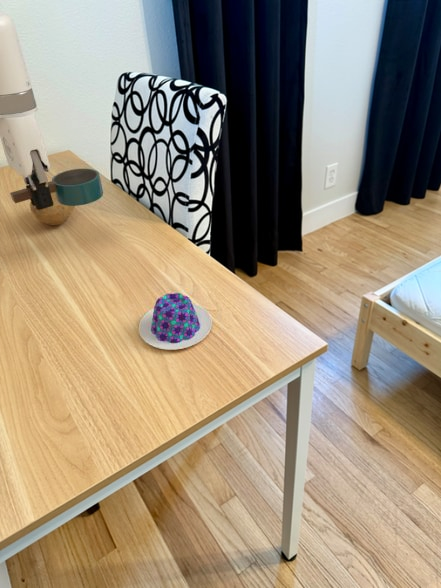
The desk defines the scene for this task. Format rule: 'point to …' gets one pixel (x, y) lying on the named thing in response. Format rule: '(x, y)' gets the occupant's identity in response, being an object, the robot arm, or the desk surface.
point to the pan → (70, 188)
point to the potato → (53, 212)
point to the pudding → (175, 323)
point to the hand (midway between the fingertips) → (42, 204)
